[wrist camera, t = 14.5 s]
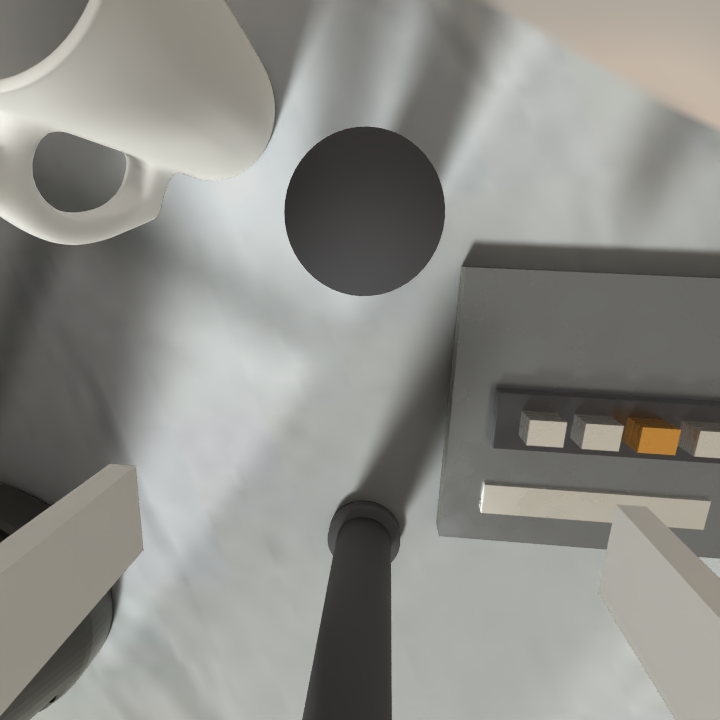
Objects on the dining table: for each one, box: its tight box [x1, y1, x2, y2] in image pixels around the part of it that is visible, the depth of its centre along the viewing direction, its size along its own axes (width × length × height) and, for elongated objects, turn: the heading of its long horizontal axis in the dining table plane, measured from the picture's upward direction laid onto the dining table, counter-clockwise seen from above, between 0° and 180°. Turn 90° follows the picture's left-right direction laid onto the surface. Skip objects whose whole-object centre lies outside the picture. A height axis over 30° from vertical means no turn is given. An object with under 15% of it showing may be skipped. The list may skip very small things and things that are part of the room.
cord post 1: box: [285, 127, 445, 296], centre depth 14 cm, size 4×4×13 cm
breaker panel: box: [437, 267, 720, 558], centre depth 20 cm, size 15×14×3 cm
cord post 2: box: [302, 501, 400, 720], centre depth 18 cm, size 4×4×13 cm
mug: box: [0, 0, 275, 245], centre depth 14 cm, size 10×7×12 cm, turn 158°
